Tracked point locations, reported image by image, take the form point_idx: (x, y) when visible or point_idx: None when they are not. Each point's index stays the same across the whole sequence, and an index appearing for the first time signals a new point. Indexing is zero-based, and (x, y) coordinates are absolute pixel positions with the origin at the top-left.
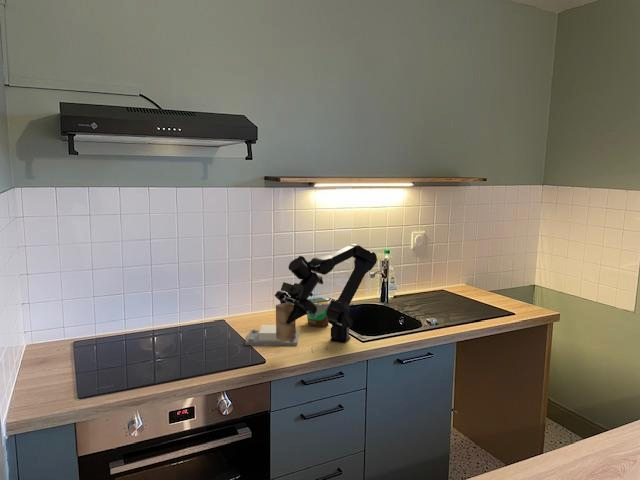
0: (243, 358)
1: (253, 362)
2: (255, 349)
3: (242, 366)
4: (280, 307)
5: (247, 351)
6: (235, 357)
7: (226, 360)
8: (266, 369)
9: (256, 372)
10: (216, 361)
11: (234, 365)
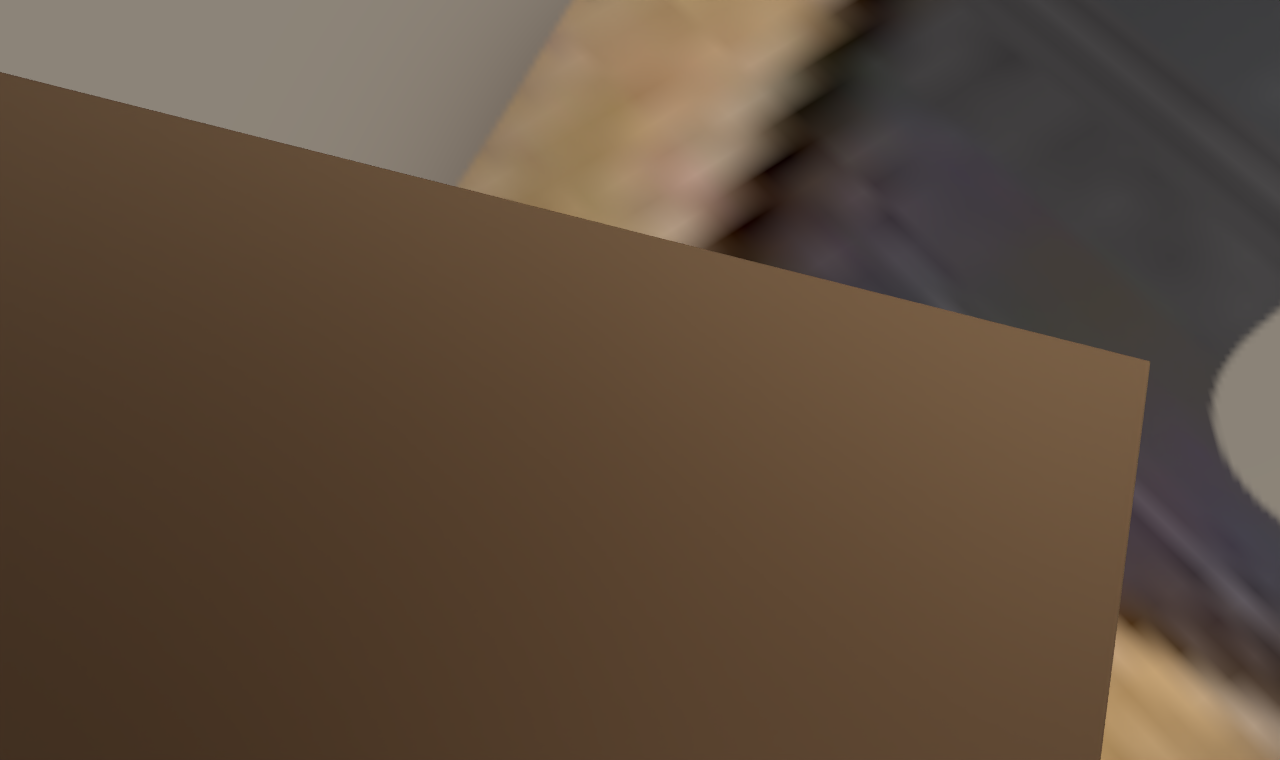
0: (1056, 278)
1: (826, 248)
2: (1209, 678)
3: (848, 70)
4: (380, 193)
5: (1237, 527)
6: (1177, 243)
7: (1183, 101)
8: (502, 165)
9: (555, 29)
10: (1255, 11)
11: (960, 40)
